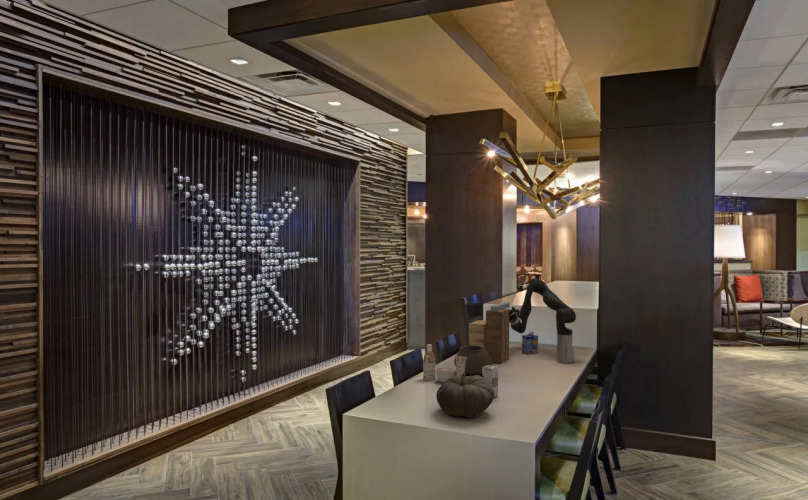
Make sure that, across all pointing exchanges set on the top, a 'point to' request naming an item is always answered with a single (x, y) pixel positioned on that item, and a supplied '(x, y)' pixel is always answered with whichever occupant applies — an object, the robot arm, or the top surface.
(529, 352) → the ink cartridge box
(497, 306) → the batten
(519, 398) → the top surface
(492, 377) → the white carton
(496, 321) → the walnut stand
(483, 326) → the oak stand
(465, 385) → the gourd
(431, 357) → the cosmetic set
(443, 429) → the top surface
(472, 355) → the clay pot
